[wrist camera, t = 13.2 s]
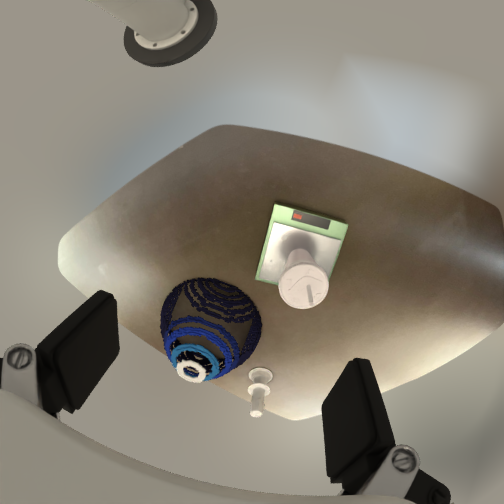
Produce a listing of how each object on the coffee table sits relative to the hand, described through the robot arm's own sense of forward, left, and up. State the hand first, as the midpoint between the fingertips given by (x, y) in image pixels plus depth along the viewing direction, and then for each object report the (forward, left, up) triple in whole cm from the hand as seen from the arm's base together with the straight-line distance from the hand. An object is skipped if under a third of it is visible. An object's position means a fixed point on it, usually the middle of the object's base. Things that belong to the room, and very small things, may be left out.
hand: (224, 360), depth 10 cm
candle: (+37, +8, -36) cm, 53 cm away
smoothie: (+7, +7, -33) cm, 34 cm away
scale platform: (+7, +7, -33) cm, 35 cm away
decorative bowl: (+26, -5, -36) cm, 45 cm away
